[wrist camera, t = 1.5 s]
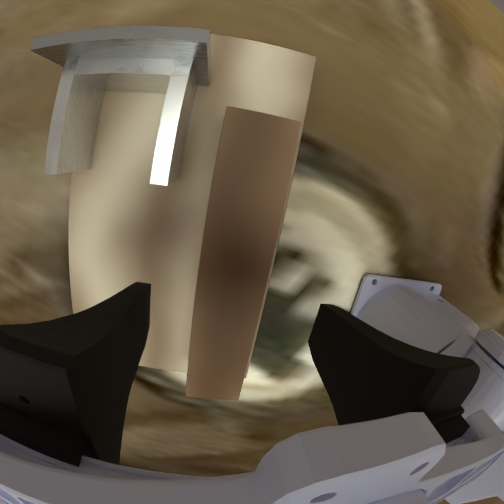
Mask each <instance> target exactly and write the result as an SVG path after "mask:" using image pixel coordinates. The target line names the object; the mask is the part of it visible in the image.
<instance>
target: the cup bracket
mask: <svg viewBox="0 0 504 504" xmlns="http://www.w3.org/2000/svg"><path fill="white" fill-rule="evenodd" d="M30 50H31V51H33V52H35V53H37V54H39V55H41V56H43V57H45V58H47V59H49V60H51V61H53V62H55V63H57V64H59V65H61V66H63V67H64V69H63V72H62V76H61V79H60V83H59V87H58V91H57V96H56V100H55V105H54V109H53V114H52V120H51V125H50V132H49V138H48V145H47V153H46V162H45V173H44V174H55V175H57V174H63V173H69V172H74V171H81V170H87V169H92V162H93V154H94V147H95V141H96V135H97V129H98V123H99V118H100V113H101V108H102V104H103V99H104V95H105V91H117V92H143V93H158V94H166V97H165V102H164V106H163V111H162V116H161V120H160V125H159V131H158V136H157V141H156V147H155V153H154V159H153V166H152V172H151V179H150V184H157V185H165V186H168V185H169V184H171V183H173V182H174V181H176V180H178V179H179V178H180V171H181V165H182V159H183V154H184V148H185V143H186V138H187V132H188V127H189V122H190V117H191V113H192V108H193V103H194V99H195V95H196V90H197V86H198V85H201V86H208V87H209V86H210V82H211V30H207V29H197V28H186V27H170V26H119V27H104V28H93V29H84V30H76V31H70V32H63V33H58V34H52V35H47V36H42V37H38V38H34V40H33V43H32V46H31V49H30Z"/></svg>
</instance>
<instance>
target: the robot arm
mask: <svg viewBox="0 0 504 504" xmlns="http://www.w3.org/2000/svg"><path fill="white" fill-rule="evenodd" d="M374 279H375V281H374V282H373V283H372V281H373V280H374ZM441 289H442V285H441V284H439V283H435V282H427V281H419V280H411V279H404V278H396V277H389V276H381V275H374V274H367V275H365V276H364V277H363V279H362V282H361V285H360V288H359V291H358V294H357V297H356V300H355V303H354V305H353V308H352V311H351V314H350V313H349V312H347V311H345V310H343V309H342V308H340V307H337V306H335V305H331V304H321V305H320V308H319V311H318V314H317V317H316V320H315V323H314V326H313V329H312V332H311V335H310V338H309V340H308V343H309V347H310V352H311V355H312V358H313V361H314V364H315V366H316V368H317V370H318V373H319V375H320V377H321V379H322V381H323V384H324V386H325V388H326V390H327V392H328V395H329V397H330V399H331V402H332V404H333V408H334V411H335V414H336V418H337V421H338V425H337V426H329V427H322V428H318V429H314V430H309V431H305V432H300V433H297V434H295V435H293V436H291V437H289V438H287V439H285V440H283V441H281V442H278V443H277V444H276V445H275V446H274V447H273V448H272V449H271V450H270V451H269V452H268V453H267V454H266V455H265V456H264V457H263V458H262V459H261V461H260V463H259V465H258V467H257V469H256V471H255V472H250V473H243V474H236V475H228V476H219V477H200V476H187V475H177V474H168V473H160V472H154V471H147V470H142V469H136V468H131V467H126V466H121V465H119V462H120V450H121V441H122V433H123V426H124V419H125V413H126V408H127V402H128V397H129V393H130V389H131V385H132V382H133V380H134V377H135V374H136V371H137V368H138V365H139V362H140V360H141V357H142V354H143V351H144V348H145V346H146V341H147V337H148V332H149V327H150V299H151V284H150V283H143V282H135V283H133V284H131V285H130V286H128V287H126V288H125V289H123V290H122V291H120V292H118V293H117V294H115V295H113V296H112V297H110V298H108V299H106V300H104V301H102V302H100V303H98V304H96V305H95V306H92V307H90V308H88V309H86V310H83V311H80V312H78V313H75V314H72V315H69V316H65V317H61V318H58V319H54V320H50V321H44V322H38V323H31V324H15V325H1V326H0V502H2V503H4V504H437V503H439V502H440V501H442V500H443V499H445V500H447V501H448V502H449V503H450V504H462V503H467V502H472V501H477V500H481V499H484V498H489V497H493V496H498V497H499V498H501V499H502V500H503V501H504V337H503V336H501V335H500V334H499V333H497V332H496V331H495V330H493V329H492V328H488V329H485V330H480V328H479V327H478V325H477V324H476V323H475V322H474V321H472V320H471V319H470V318H469V317H467V316H466V315H465V314H463V313H462V312H461V311H459V310H458V309H457V308H456V307H454V306H453V305H452V304H450V303H449V302H448V301H446V300H445V299H444V298H442V297H441V296H439V294H440V292H441Z"/></svg>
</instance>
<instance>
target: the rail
mask: <svg viewBox="0 0 504 504" xmlns="http://www.w3.org/2000/svg"><path fill="white" fill-rule="evenodd" d="M300 127H301V122H299V121H296V120H292V119H288V118H284V117H279V116H275V115H271V114H266V113H262V112H257V111H252V110H247V109H242V108H236V107H231V106H227V108H226V112H225V116H224V121H223V126H222V131H221V136H220V141H219V146H218V151H217V156H216V162H215V167H214V173H213V178H212V184H211V190H210V196H209V202H208V208H207V214H206V220H205V227H204V233H203V240H202V247H201V254H200V261H199V268H198V276H197V284H196V292H195V300H194V308H193V317H192V326H191V336H190V346H189V357H188V369H187V382H186V396H187V397H197V398H207V399H220V400H236V401H238V399H239V396H240V392H241V388H242V384H243V380H244V376H245V372H246V368H247V364H248V360H249V356H250V352H251V348H252V344H253V340H254V336H255V331H256V327H257V323H258V319H259V315H260V311H261V306H262V302H263V298H264V294H265V289H266V285H267V281H268V276H269V272H270V268H271V263H272V259H273V254H274V250H275V245H276V241H277V237H278V232H279V227H280V223H281V218H282V214H283V209H284V204H285V200H286V195H287V190H288V186H289V181H290V176H291V171H292V167H293V162H294V157H295V152H296V147H297V142H298V137H299V132H300Z"/></svg>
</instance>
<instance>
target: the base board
mask: <svg viewBox="0 0 504 504" xmlns="http://www.w3.org/2000/svg"><path fill="white" fill-rule="evenodd" d="M315 61H316V57H314V56H311V55H307V54H304V53H301V52H297V51H293V50H290V49H286V48H282V47H278V46H274V45H270V44H266V43H261V42H256V41H251V40H246V39H241V38H235V37H229V36H223V35H215V34H211V82H210V86H209V87H208V86H201V85H198V86H197V90H196V95H195V99H194V103H193V108H192V113H191V117H190V122H189V127H188V132H187V138H186V143H185V148H184V154H183V159H182V165H181V171H180V178H179V179H178V180H176V181H174V182H173V183H171V184H169V185H168V186H165V185H157V184H150V179H151V172H152V166H153V159H154V153H155V147H156V141H157V136H158V131H159V125H160V120H161V116H162V111H163V106H164V102H165V97H166V94H158V93H143V92H117V91H105V95H104V99H103V104H102V108H101V113H100V118H99V123H98V129H97V135H96V141H95V147H94V154H93V162H92V169H87V170H81V171H74V172H72V175H71V186H70V201H69V269H70V285H71V297H72V306H73V314H75V313H78V312H80V311H83V310H86V309H88V308H90V307H92V306H95V305H96V304H98V303H100V302H102V301H104V300H106V299H108V298H110V297H112V296H113V295H115V294H117V293H118V292H120V291H122V290H123V289H125V288H126V287H128V286H130V285H131V284H133V283H135V282H143V283H150V284H151V299H150V327H149V332H148V337H147V341H146V346H145V348H144V351H143V354H142V357H141V360H140V362H139V366H145V367H151V368H157V369H163V370H170V371H178V372H185V373H187V369H188V357H189V346H190V336H191V326H192V317H193V308H194V300H195V292H196V284H197V276H198V268H199V261H200V254H201V247H202V240H203V233H204V227H205V220H206V214H207V208H208V202H209V196H210V190H211V184H212V178H213V173H214V167H215V162H216V156H217V151H218V146H219V141H220V136H221V131H222V126H223V121H224V116H225V112H226V108H227V106H231V107H236V108H242V109H247V110H252V111H257V112H262V113H266V114H271V115H275V116H279V117H284V118H288V119H292V120H296V121H299V122H301V127H300V132H299V137H298V142H297V147H296V152H295V157H294V162H293V167H292V171H291V176H290V181H289V186H288V190H287V195H286V200H285V204H284V209H283V214H282V218H281V223H280V227H279V232H278V237H277V241H276V245H275V250H274V254H273V259H272V263H271V268H270V272H269V276H268V281H267V285H266V289H265V294H264V298H263V302H262V306H261V311H260V315H259V319H258V323H257V327H256V331H255V336H254V340H253V344H252V348H251V352H250V356H249V360H248V364H247V368H246V372H245V376H244V378H246V375H247V372H248V368H249V364H250V360H251V356H252V352H253V348H254V344H255V340H256V336H257V332H258V328H259V324H260V320H261V315H262V311H263V307H264V303H265V299H266V295H267V290H268V286H269V282H270V278H271V273H272V269H273V265H274V260H275V256H276V252H277V247H278V243H279V238H280V234H281V229H282V225H283V220H284V216H285V211H286V207H287V202H288V197H289V193H290V188H291V183H292V178H293V174H294V169H295V164H296V159H297V154H298V149H299V144H300V139H301V134H302V129H303V124H304V119H305V114H306V109H307V104H308V99H309V93H310V88H311V83H312V77H313V72H314V66H315Z"/></svg>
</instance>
